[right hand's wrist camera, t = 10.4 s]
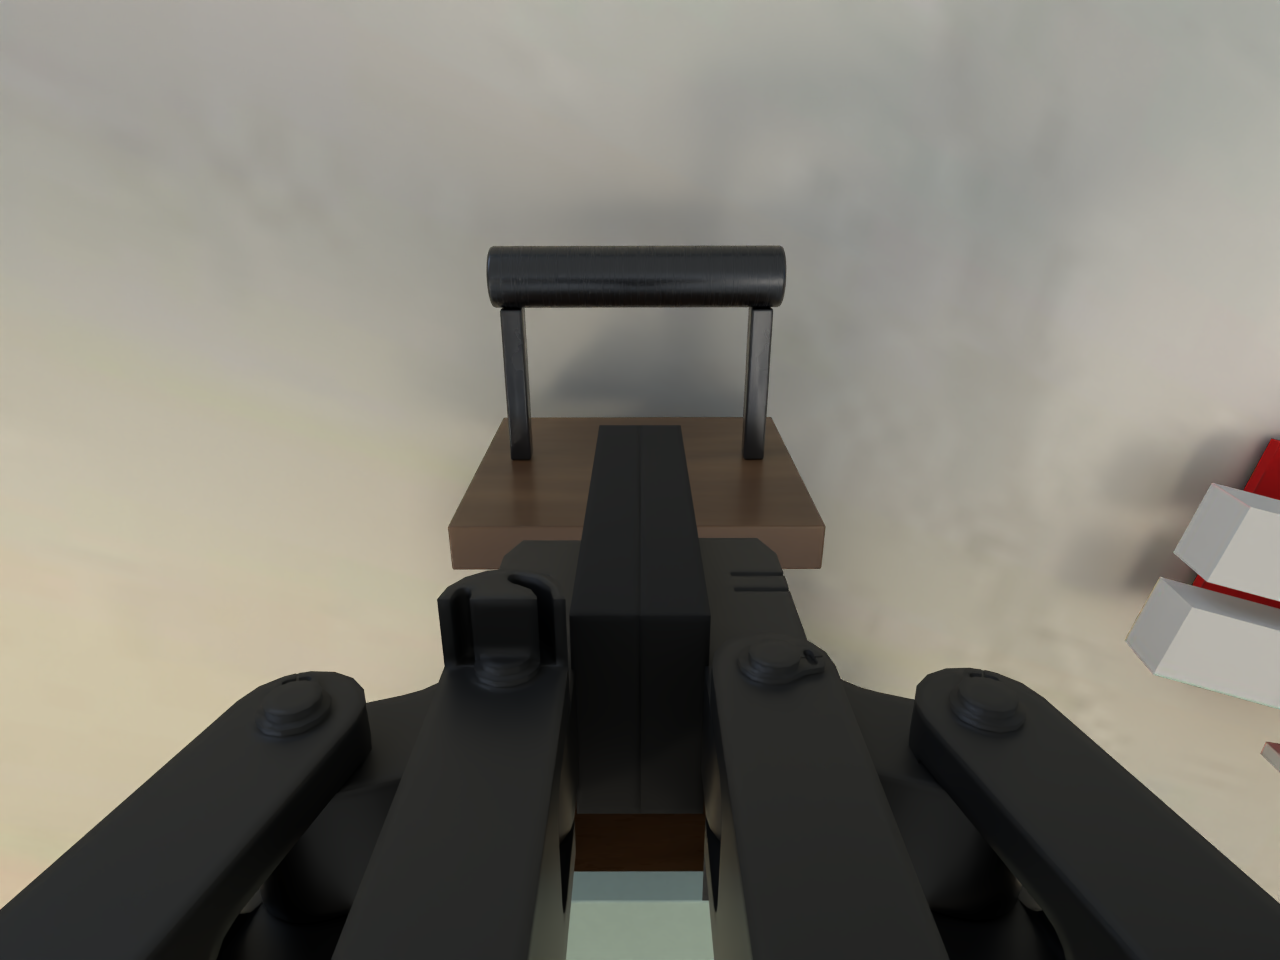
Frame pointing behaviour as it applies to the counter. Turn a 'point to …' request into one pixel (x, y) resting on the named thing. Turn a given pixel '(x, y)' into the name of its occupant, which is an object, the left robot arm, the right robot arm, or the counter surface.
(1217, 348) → the counter surface
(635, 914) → the sage green rectangular box
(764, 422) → the drawer
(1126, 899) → the right robot arm
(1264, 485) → the toy
